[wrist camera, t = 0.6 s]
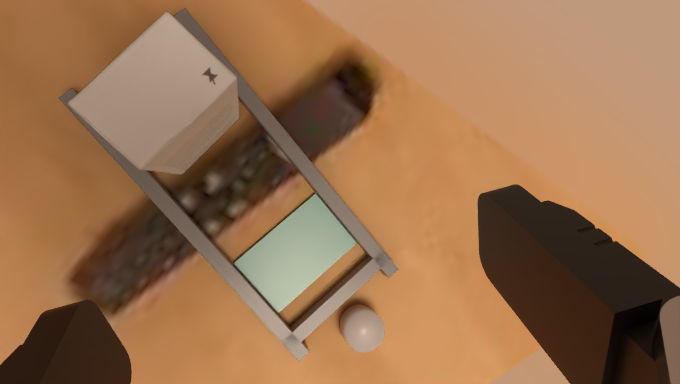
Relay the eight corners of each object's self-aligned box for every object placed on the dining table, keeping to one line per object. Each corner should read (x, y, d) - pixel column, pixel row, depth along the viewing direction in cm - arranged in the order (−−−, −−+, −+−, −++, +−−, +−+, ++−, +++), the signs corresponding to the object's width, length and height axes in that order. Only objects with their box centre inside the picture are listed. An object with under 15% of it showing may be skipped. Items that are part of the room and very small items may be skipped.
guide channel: (65, 101, 28) (52, 95, 26) (187, 14, 30) (183, 3, 28) (322, 382, 33) (327, 395, 31) (415, 293, 34) (426, 300, 32)
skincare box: (196, 74, 30) (169, 5, 18) (240, 117, 31) (242, 77, 19) (132, 135, 29) (61, 102, 18) (180, 178, 30) (142, 174, 18)
